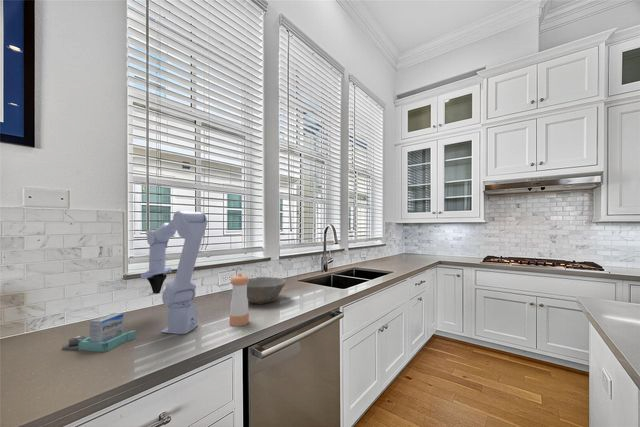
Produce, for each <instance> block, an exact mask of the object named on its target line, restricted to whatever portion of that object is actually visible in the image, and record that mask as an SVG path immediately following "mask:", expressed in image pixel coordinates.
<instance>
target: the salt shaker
mask: <svg viewBox="0 0 640 427" xmlns="http://www.w3.org/2000/svg"><path fill="white" fill-rule="evenodd" d="M249 279H250V278H249V277H248V276H247V275H244V274H243V273H238V274H237V275H234V276H233V277H232V278H231V279H230V283H231V286H232V296H231V302H230V313H229V325H230V326H233V327H241V326H245V325H247V324H248V323H249V322H250V320H249V319H250V314H249V313H250V312H249V302H248V300H249V299H248V298H247V284H248V282H249Z"/></svg>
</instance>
